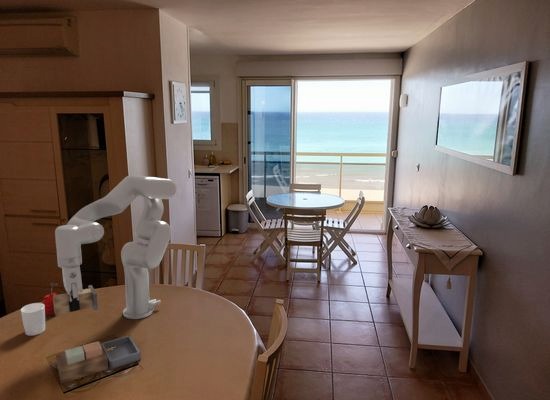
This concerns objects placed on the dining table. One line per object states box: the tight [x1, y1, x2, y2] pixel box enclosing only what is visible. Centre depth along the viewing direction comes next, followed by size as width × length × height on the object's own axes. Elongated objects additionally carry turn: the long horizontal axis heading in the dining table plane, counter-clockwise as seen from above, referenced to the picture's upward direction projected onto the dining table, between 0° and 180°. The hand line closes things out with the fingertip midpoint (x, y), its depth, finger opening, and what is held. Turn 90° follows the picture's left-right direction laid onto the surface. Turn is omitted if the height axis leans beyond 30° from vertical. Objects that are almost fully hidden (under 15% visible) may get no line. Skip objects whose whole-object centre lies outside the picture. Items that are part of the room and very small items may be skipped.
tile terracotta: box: [82, 340, 102, 359], centre depth 135 cm, size 5×5×2 cm
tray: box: [100, 335, 141, 371], centre depth 141 cm, size 10×13×3 cm
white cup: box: [20, 302, 46, 337], centre depth 154 cm, size 8×8×10 cm
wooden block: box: [55, 342, 109, 384], centre depth 134 cm, size 14×11×4 cm
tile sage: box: [64, 345, 85, 365], centre depth 132 cm, size 5×5×2 cm
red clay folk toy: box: [41, 281, 58, 317], centre depth 167 cm, size 8×7×15 cm
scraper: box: [53, 284, 99, 316], centre depth 143 cm, size 13×9×6 cm
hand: (73, 307), depth 143 cm, fingers closed on scraper, 3 cm apart
